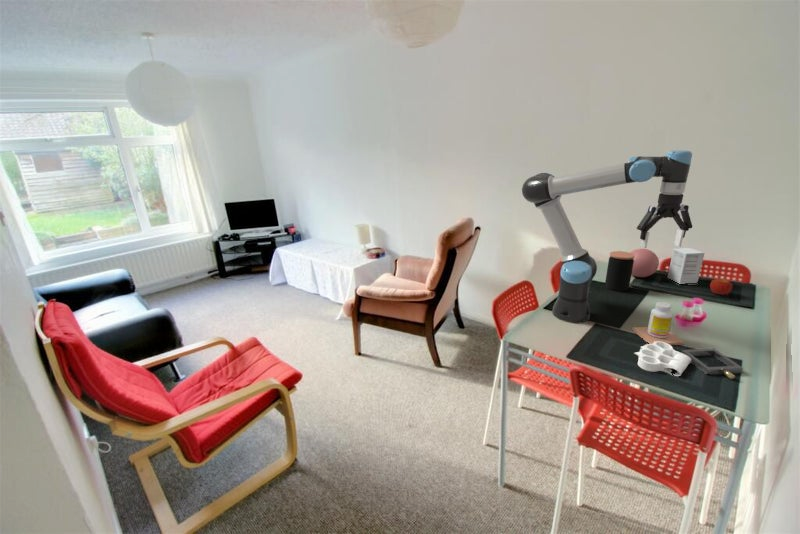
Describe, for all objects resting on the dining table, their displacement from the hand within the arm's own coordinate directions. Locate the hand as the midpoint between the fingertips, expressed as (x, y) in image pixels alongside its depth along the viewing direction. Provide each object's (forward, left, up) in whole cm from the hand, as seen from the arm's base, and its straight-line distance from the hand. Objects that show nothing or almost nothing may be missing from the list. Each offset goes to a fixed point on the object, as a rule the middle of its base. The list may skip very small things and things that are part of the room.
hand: (660, 246), depth 145 cm
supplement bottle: (-6, -16, -31) cm, 35 cm away
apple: (+46, +18, -32) cm, 59 cm away
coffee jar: (+5, +31, -32) cm, 45 cm away
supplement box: (+41, +35, -32) cm, 63 cm away
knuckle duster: (-15, -31, -32) cm, 48 cm away
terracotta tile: (-6, -16, -32) cm, 36 cm away
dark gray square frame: (0, -36, -32) cm, 48 cm away
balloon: (+23, +46, -32) cm, 60 cm away
